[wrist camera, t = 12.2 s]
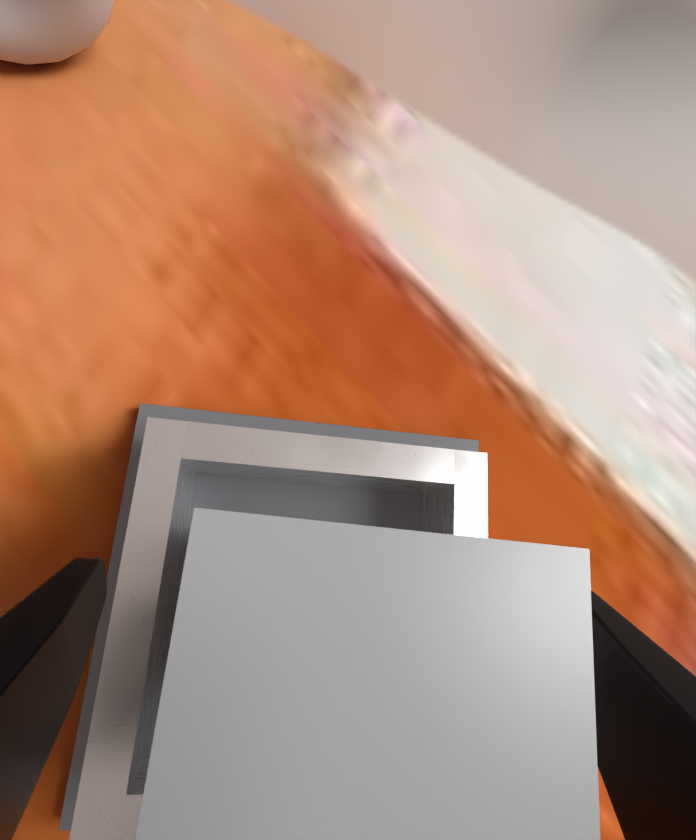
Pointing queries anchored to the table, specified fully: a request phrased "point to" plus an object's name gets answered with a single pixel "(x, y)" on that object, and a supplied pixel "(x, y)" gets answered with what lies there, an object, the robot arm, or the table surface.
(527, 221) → the table surface
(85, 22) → the donut
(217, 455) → the metal collar
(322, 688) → the gray square block
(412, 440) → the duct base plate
